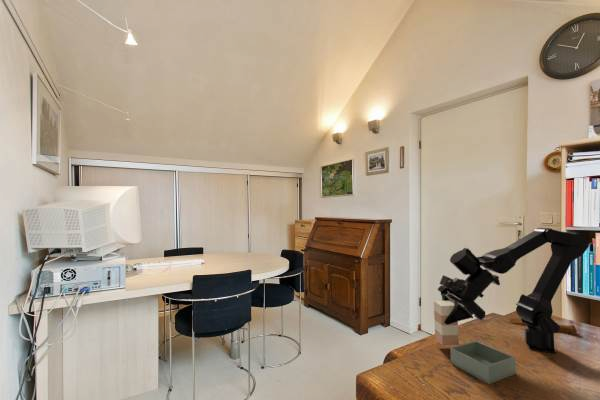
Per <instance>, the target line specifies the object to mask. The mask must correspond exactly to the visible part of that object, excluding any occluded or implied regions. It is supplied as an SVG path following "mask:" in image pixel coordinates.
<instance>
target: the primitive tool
mask: <svg viewBox="0 0 600 400" xmlns="http://www.w3.org/2000/svg"><path fill="white" fill-rule="evenodd" d="M508 323H509V324H513V325H518V326H523V327H526V324H525V323H523V322H522V320H521V318H513V317H511V318H509V320H508ZM558 325H559V326H560V329H559V332H558V333H565V334H570V335H571V336H577V332H578V331H577V329H576V326H575V325H574V324H571V325H565V324H558Z"/></svg>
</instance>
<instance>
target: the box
mask: <svg viewBox="0 0 600 400" xmlns="http://www.w3.org/2000/svg"><path fill="white" fill-rule="evenodd" d="M449 350H450V364H452V365H454V366H455V367H457V368H459V369H461V370H462V371H464V372H466V373H469V374H470V375H472V376H473V377H475V378H477V379H479V380H480V381H483V382H485V383H486V384H488V385H490V384H493V383H495V382H498V381H500V380H503V379H505V378H508V377H510V376H513V375H516V374H517V370H516V367H517V366H516V357H515V356H513V355H511V354H508V353H506V352H503V351H501V350H499V349H496V348H494V347H492V346H489V345H488V344H485V343H482V342H481V341H478V340H473V341H470V342H466V343H462V344H459V345H455V346H453V347H450V348H449Z"/></svg>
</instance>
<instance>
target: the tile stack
mask: <svg viewBox="0 0 600 400" xmlns="http://www.w3.org/2000/svg"><path fill="white" fill-rule="evenodd" d="M453 309H454V303H452V302H451V301H442V300H433V315H434V317H433V318H434V339H436V340H437V341H438V342H439V343H440V344H441V346H459V345H460V341H459V321H458V322H454V323H451V324H448V325H447V324H445V323H444V321H445V320H446V318H447V317H448V316H449V314H450V313H451V312H452V310H453Z"/></svg>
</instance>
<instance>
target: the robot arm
mask: <svg viewBox="0 0 600 400" xmlns="http://www.w3.org/2000/svg"><path fill="white" fill-rule="evenodd" d="M547 243H548V244H549V243H550V251H551V255H550V257H549V260H548V262H547V263H546V265H545V267H544V269H543V271H542V273H541V275H540V277H539V279H538V281H537V283H536V285H535V286H534V288H533V291H532V292H531V293H529V294H528V295H525V294H524V293H523V294H521V295H520V297H519V298H518V299H519V300H518V301H517V302H516V303H515V305H516V308H515V312H516V313H517V314H516V315H518V316H517V317H519V319H520V320H522V322H523V323H525V324H526V326H525V328H524V331H523V332H524V342H525V344H526V345H527V346H528V348H529V349H530V350H532V351H539V352H544V353H545V352H546V353H551V354H557V350H556V349H555V334H559V333H560V332H559V329H560V326H559V325H560V324H558V323H557V322H556V321H555V320H554V319H553V318H552V315H553V306H552V300H553V298H554V297H555V294H556V293H557V291H558V289H559V287H560V285H561V283H562V282H563V280H564V277H565V275H566V274H567V271H568V269H569V267H570V266H571V264H572V263H573V262H574V261H575V260H577V259H578V258H580V257H582V256H583V255H584V254H585V252H586V251H587V250H588V249H589V247H590V241H589V239H588V237H587V236H586V235H585V234H584V233H583V232H582V233H581V232H570V231H561V230H560V231H559V230H555V229H552V228H549V227H538V228H535V229H534V230H533V231H531V232H530V233H528V234H526V235H524V236H523V237H521V238H520V239H518V240H516V241H514V242H513V243H511V244H509V245H507V246H506V247H503V248H498V249H494V250H492V251H489V252H486V253H484V254H483V255H481V256H476V255H475V254H474V253H473V252H472V250H470V249H469V248H468V247H467V248H466V247H463V248H462V249H461V250H459V251H457V252H455V253H453V254H452V255H451V256H450V259H449V262H450V263H451V264H452V265H453V266H454V267H456V269H457V270H459V272H461V274H463V275H464V276H467V275H468V276H467V277H466V278H465V279H463V278H462V279H460V278H458V277H454V278H451V277H449V276H446V275H444V274H443V275H442V277H441V279H440V281H439V285H440V286H439V287H438V288H437V291H438V292H439V293H440V296H441V301H451V302H452V303H454V309H453V310H452V312H451V313H450V314H449V316H448V317H447V318H446V320H445V321H444V323H445V324H447V325H448V324H451V323H454V322H458V323H459V322H460V321H464V320H468V319H474V317H475V318H476V319H477V320H479V321H483V319H485V318H486V311H485V309H483V308H482V307H481V306H480V305H479V304H478V303H476V300H477V299H478V298H481V299H482V298H483V297H484V296H485V295H484V294H483V293H484V291H486V289H487V288H489V286H490V285H491V284H493V285H496V286H500V285H501V283H500V280H499V278H500V277H499V275H495V274H492V273H491V272H493V273H497V274H501V275H502V274H506V273H508V272H509V271H511V270H512V269H513V268H514V267H515V266H516V263H517V261H519V260H520V259H521V258H523V257H524V256H526V255H528V254H530V253H532V252H533V251H535V250H537V249H538V248H540V247H542V246H543V245H545V244H547ZM473 315H474V316H473Z"/></svg>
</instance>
